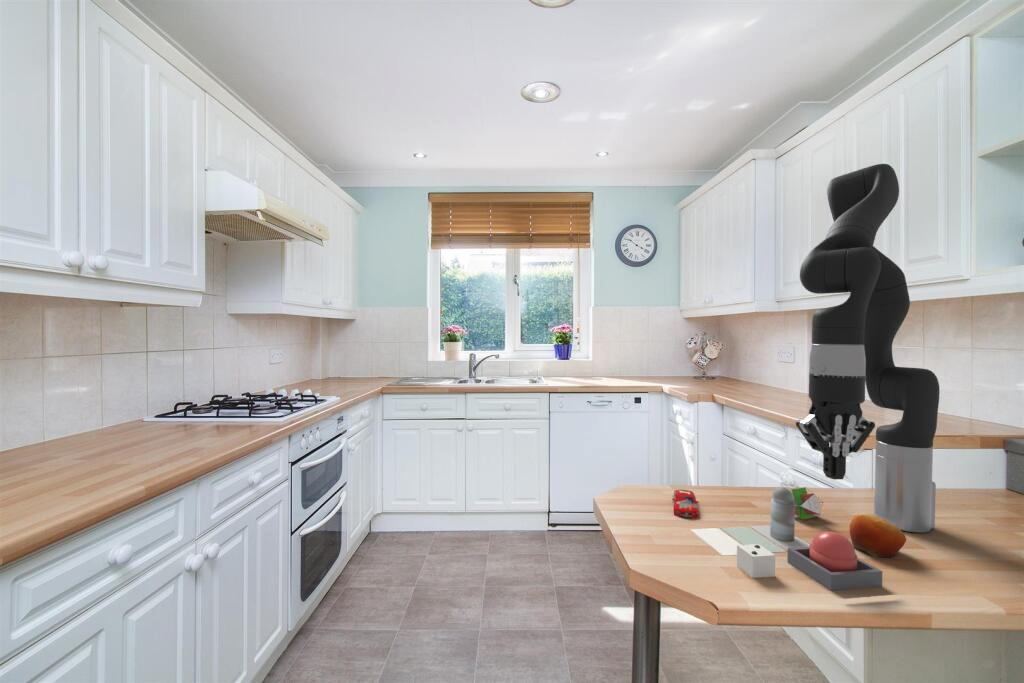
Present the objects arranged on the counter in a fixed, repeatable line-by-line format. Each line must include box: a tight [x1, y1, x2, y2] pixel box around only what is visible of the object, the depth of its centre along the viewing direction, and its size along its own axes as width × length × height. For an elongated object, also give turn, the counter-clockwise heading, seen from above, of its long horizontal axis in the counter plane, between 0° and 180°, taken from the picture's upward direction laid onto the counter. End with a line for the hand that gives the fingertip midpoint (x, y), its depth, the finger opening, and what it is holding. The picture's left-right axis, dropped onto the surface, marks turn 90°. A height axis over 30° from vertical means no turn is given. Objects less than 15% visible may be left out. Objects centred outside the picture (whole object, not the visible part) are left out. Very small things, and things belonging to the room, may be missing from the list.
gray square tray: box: [786, 547, 883, 592], centre depth 76 cm, size 9×9×3 cm
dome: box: [809, 531, 858, 572], centre depth 76 cm, size 6×6×6 cm
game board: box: [690, 524, 810, 557], centre depth 88 cm, size 20×12×1 cm, turn 98°
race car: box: [671, 488, 700, 519], centre depth 104 cm, size 13×5×4 cm, turn 161°
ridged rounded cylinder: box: [770, 487, 796, 542], centre depth 89 cm, size 4×4×10 cm
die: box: [736, 544, 776, 579], centre depth 76 cm, size 4×4×4 cm
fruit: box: [849, 513, 907, 558], centre depth 84 cm, size 8×8×8 cm
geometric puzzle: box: [790, 486, 824, 521], centre depth 100 cm, size 7×7×8 cm
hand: (834, 477), depth 75 cm, fingers closed
